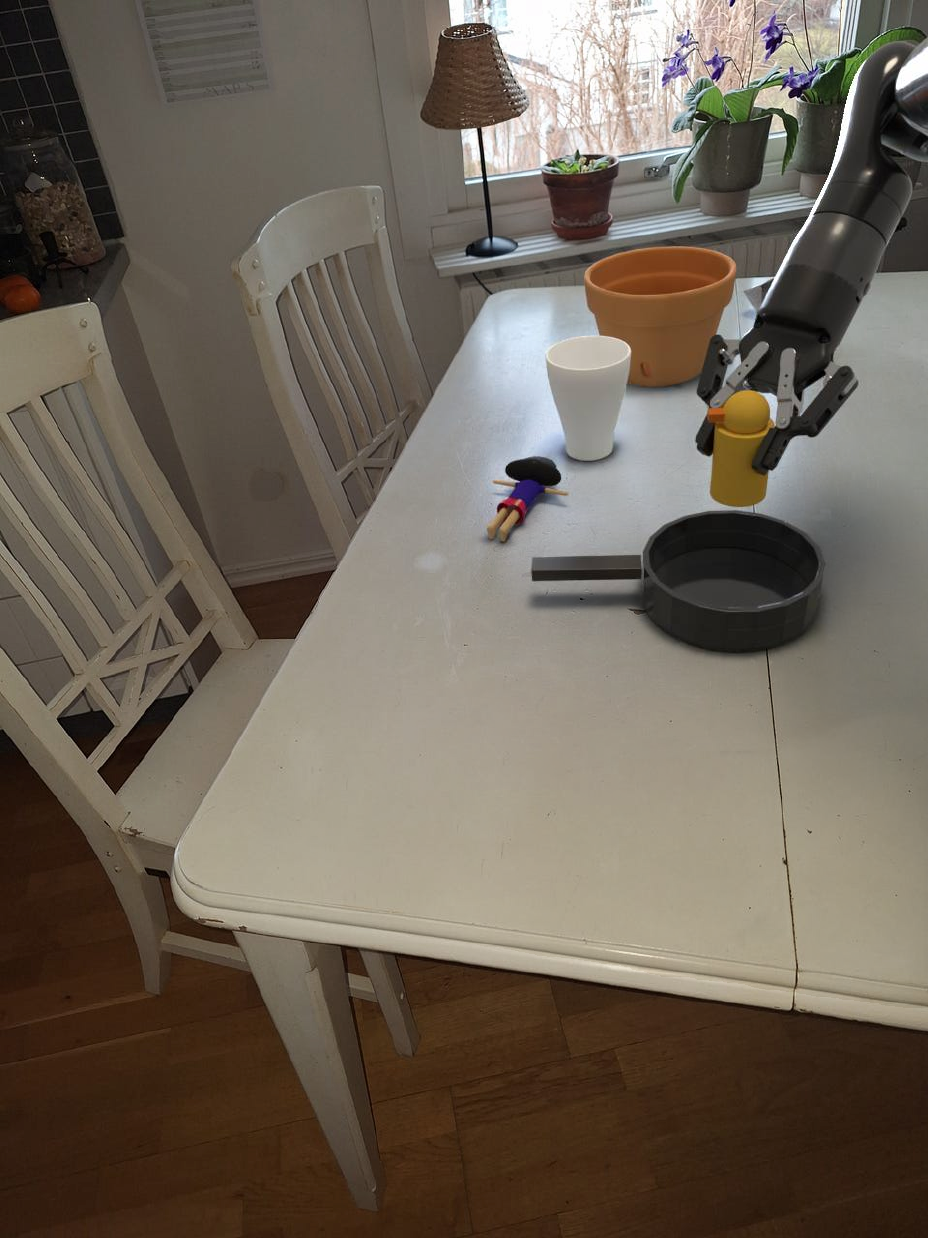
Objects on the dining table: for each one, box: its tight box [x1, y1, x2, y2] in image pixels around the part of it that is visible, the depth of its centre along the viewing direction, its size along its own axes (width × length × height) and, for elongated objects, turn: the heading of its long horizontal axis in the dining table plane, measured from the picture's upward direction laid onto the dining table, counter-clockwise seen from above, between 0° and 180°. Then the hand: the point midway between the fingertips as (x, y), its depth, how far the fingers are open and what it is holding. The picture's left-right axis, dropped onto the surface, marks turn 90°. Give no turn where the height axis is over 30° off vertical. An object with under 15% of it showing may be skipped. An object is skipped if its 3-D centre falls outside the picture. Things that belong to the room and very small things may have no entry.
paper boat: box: [743, 277, 775, 314], centre depth 144 cm, size 12×6×9 cm
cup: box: [544, 335, 631, 462], centre depth 113 cm, size 10×10×14 cm
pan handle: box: [530, 554, 642, 582], centre depth 90 cm, size 11×2×1 cm, turn 84°
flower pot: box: [583, 245, 738, 388], centre depth 130 cm, size 21×21×15 cm
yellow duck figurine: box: [706, 390, 776, 508], centre depth 79 cm, size 6×5×10 cm
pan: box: [641, 509, 827, 653], centre depth 89 cm, size 17×17×5 cm
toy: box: [486, 455, 570, 543], centre depth 106 cm, size 10×5×15 cm
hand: (730, 461), depth 79 cm, fingers closed on yellow duck figurine, 5 cm apart
